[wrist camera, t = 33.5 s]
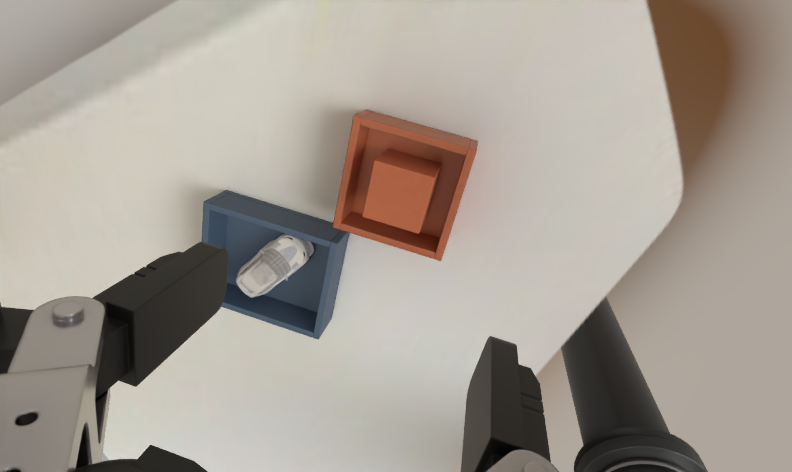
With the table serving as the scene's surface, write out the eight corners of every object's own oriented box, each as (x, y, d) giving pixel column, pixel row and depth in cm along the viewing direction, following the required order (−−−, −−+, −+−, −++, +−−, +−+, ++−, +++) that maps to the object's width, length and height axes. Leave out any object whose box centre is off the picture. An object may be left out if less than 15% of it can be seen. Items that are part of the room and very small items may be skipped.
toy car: (322, 251, 40) (309, 265, 37) (266, 292, 43) (251, 308, 40) (295, 220, 39) (280, 232, 36) (241, 265, 42) (224, 279, 39)
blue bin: (350, 228, 39) (337, 243, 35) (331, 319, 43) (318, 339, 40) (226, 189, 40) (203, 201, 37) (219, 281, 44) (198, 299, 41)
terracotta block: (442, 163, 34) (435, 177, 30) (427, 214, 36) (418, 234, 32) (388, 147, 35) (374, 160, 31) (376, 199, 36) (361, 216, 32)
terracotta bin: (478, 141, 33) (476, 149, 30) (445, 243, 37) (440, 261, 34) (366, 109, 34) (353, 114, 31) (345, 213, 38) (332, 227, 35)
